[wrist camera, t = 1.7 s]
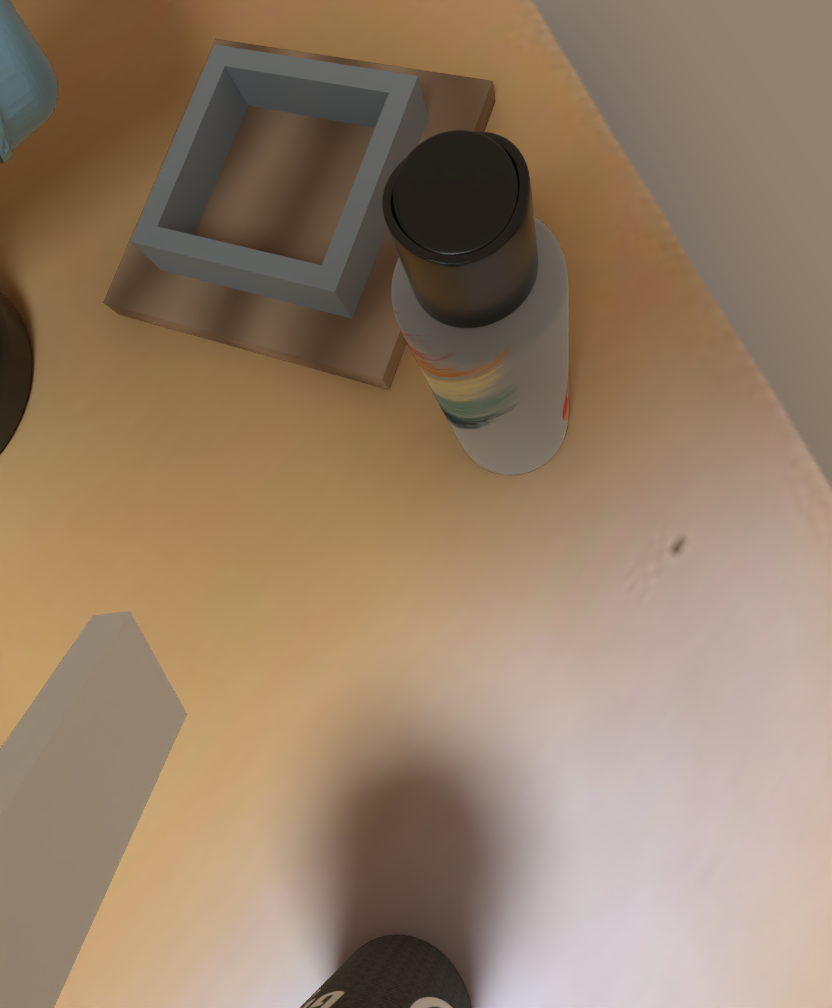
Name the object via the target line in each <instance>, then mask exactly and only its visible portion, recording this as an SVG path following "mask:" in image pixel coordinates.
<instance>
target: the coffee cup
mask: <svg viewBox="0 0 832 1008" xmlns="http://www.w3.org/2000/svg"><path fill="white" fill-rule="evenodd" d="M300 1008H471V1005H470V1000H469V996H468V993H467V990H466V987H465V985H464V983H463V981H462V979H461V977H460V975H459V973H458V972H457V970H456V969H455V967H454V966H453V964H452V963H451V962H450V961H449V960H448V959H447V958H446V957H445V956H444V955H443V954H442V953H441V952H440V951H439V950H438V949H436V948H435V947H433V946H432V945H430V944H428V943H427V942H425V941H422V940H420V939H417V938H414V937H410V936H405V935H389V936H384V937H380V938H377V939H374V940H372V941H370V942H368V943H367V944H365V945H364V946H362V947H361V948H360V949H358V950H357V951H356V952H355V953H354V954H353V955H352V956H351V957H350V958H349V959H348V960H347V961H346V962H345V963H344V964H343V965H342V966H341V967H340V968H339V969H338V970H337V971H336V972H335V973H334V974H333V975H332V976H331V977H330V978H329V979H328V980H327V981H326V982H325V983H324V984H323V985H322V986H321V987H320V988H319V989H318V990H317V991H316V992H315V993H314V994H313V995H312V996H311V997H310V998H309V999H308V1000H307V1001H306V1002H305V1003H304V1004H303V1005H302V1006H301V1007H300Z"/></svg>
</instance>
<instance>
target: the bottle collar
mask: <svg viewBox="0 0 832 1008" xmlns="http://www.w3.org/2000/svg"><path fill="white" fill-rule="evenodd" d="M248 105H249V106H254V107H260V108H266V109H271V110H277V111H282V112H288V113H294V114H299V115H305V116H311V117H316V118H322V119H327V120H333V121H339V122H344V123H350V124H356V125H361V126H367V127H373V128H375V130H374V132H373V135H372V138H371V140H370V143H369V145H368V148H367V150H366V153H365V156H364V158H363V161H362V163H361V166H360V168H359V171H358V174H357V176H356V179H355V181H354V184H353V186H352V189H351V192H350V194H349V197H348V199H347V202H346V205H345V207H344V210H343V212H342V215H341V217H340V220H339V223H338V225H337V228H336V230H335V233H334V235H333V238H332V241H331V243H330V246H329V248H328V251H327V253H326V256H325V259H324V261H323V264H322V265H318V264H314V263H310V262H305V261H301V260H297V259H293V258H288V257H284V256H280V255H276V254H272V253H267V252H263V251H259V250H255V249H250V248H246V247H242V246H238V245H234V244H229V243H225V242H221V241H217V240H212V239H208V238H204V237H200V236H196V235H195V232H196V230H197V227H198V225H199V223H200V220H201V218H202V215H203V213H204V211H205V208H206V206H207V203H208V201H209V198H210V196H211V194H212V191H213V189H214V186H215V184H216V182H217V179H218V177H219V174H220V172H221V169H222V167H223V165H224V162H225V160H226V157H227V155H228V153H229V150H230V148H231V145H232V143H233V141H234V138H235V136H236V133H237V131H238V128H239V126H240V124H241V121H242V119H243V116H244V114H245V112H246V109H247V107H248ZM428 118H429V116H428V112H427V109H426V105H425V101H424V97H423V93H422V90H421V86H420V82H419V78H418V76H415V75H408V74H402V73H395V72H389V71H382V70H376V69H369V68H363V67H357V66H350V65H344V64H337V63H331V62H324V61H318V60H311V59H305V58H298V57H292V56H285V55H279V54H272V53H266V52H259V51H253V50H246V49H240V48H233V47H227V46H220V45H214V47H213V49H212V51H211V54H210V56H209V58H208V61H207V63H206V65H205V68H204V70H203V72H202V75H201V77H200V79H199V82H198V84H197V87H196V89H195V91H194V94H193V96H192V98H191V101H190V103H189V105H188V108H187V110H186V112H185V115H184V117H183V119H182V122H181V124H180V126H179V129H178V131H177V134H176V136H175V138H174V141H173V143H172V145H171V148H170V150H169V152H168V155H167V157H166V159H165V162H164V164H163V166H162V169H161V171H160V173H159V176H158V178H157V181H156V183H155V185H154V188H153V190H152V192H151V195H150V197H149V199H148V202H147V204H146V206H145V209H144V211H143V213H142V216H141V218H140V221H139V223H138V225H137V228H136V230H135V232H134V235H133V237H132V239H131V243H132V244H133V245H134V246H136V247H137V248H138V249H139V250H140V251H141V252H142V253H143V254H144V255H145V256H146V257H147V258H148V259H150V260H151V261H152V262H153V263H154V264H155V265H156V266H157V267H158V268H159V269H160V270H163V271H167V272H171V273H175V274H179V275H183V276H186V277H190V278H194V279H198V280H202V281H206V282H210V283H214V284H218V285H222V286H226V287H230V288H233V289H237V290H241V291H245V292H249V293H253V294H257V295H261V296H265V297H269V298H273V299H277V300H280V301H284V302H288V303H292V304H296V305H300V306H304V307H308V308H312V309H316V310H320V311H324V312H328V313H331V314H335V315H339V316H343V317H347V318H351V319H353V316H354V313H355V311H356V308H357V305H358V303H359V300H360V297H361V295H362V292H363V290H364V287H365V284H366V282H367V279H368V276H369V274H370V271H371V268H372V266H373V263H374V261H375V258H376V255H377V253H378V250H379V247H380V245H381V242H382V239H383V237H384V234H385V232H386V229H387V225H386V222H385V218H384V214H383V208H382V199H383V192H384V188H385V185H386V183H387V181H388V179H389V177H390V175H391V174H392V172H393V171H394V169H395V168H396V167H397V166H398V165H399V164H400V163H401V162H402V161H403V160H404V159H405V158H406V157H407V156H408V155H409V153H410V152H411V151H412V150H413V149H414V148H415V147H416V146H418V144H419V142H420V139H421V137H422V134H423V131H424V129H425V126H426V123H427V121H428Z"/></svg>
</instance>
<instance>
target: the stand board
mask: <svg viewBox="0 0 832 1008" xmlns="http://www.w3.org/2000/svg"><path fill="white" fill-rule="evenodd" d="M214 45H220V46H227V47H233V48H240V49H246V50H253V51H259V52H266V53H272V54H279V55H285V56H292V57H298V58H305V59H311V60H318V61H324V62H331V63H337V64H344V65H350V66H357V67H363V68H369V69H376V70H382V71H389V72H395V73H402V74H408V75H415V76H418V78H419V82H420V86H421V90H422V93H423V97H424V101H425V105H426V109H427V112H428V116H429V118H428V121H427V123H426V126H425V129H424V131H423V134H422V137H421V139H420V142H419V144H420V143H421V142H423V141H424V140H426V139H428V138H430V137H432V136H434V135H436V134H439V133H442V132H446V131H452V130H467V131H482V132H484V130H485V127H486V125H487V122H488V119H489V117H490V114H491V111H492V108H493V106H494V103H495V96H494V88H493V81H489V80H482V79H476V78H469V77H462V76H456V75H449V74H443V73H436V72H430V71H423V70H416V69H410V68H403V67H397V66H390V65H383V64H377V63H370V62H364V61H357V60H351V59H344V58H337V57H331V56H324V55H318V54H311V53H305V52H298V51H291V50H285V49H278V48H272V47H265V46H258V45H252V44H245V43H239V42H232V41H226V40H219V39H215V42H214V44H213V46H212V49H213V47H214ZM212 49H211V51H212ZM211 51H210V53H209V56H210V54H211ZM209 56H208V58H209ZM208 58H207V60H206V63H207V61H208ZM206 63H205V65H206ZM205 65H204V67H203V70H204V68H205ZM203 70H202V72H203ZM202 72H201V74H200V77H201V75H202ZM200 77H199V79H200ZM199 79H198V81H197V84H198V82H199ZM197 84H196V86H195V89H196V87H197ZM195 89H194V91H195ZM194 91H193V93H192V96H193V94H194ZM192 96H191V98H192ZM191 98H190V100H189V103H190V101H191ZM189 103H188V105H189ZM188 105H187V107H186V110H187V108H188ZM186 110H185V112H186ZM185 112H184V114H183V117H184V115H185ZM183 117H182V119H183ZM182 119H181V121H180V124H181V122H182ZM180 124H179V126H180ZM179 126H178V128H177V131H178V129H179ZM374 130H375V128H373V127H367V126H361V125H356V124H350V123H344V122H339V121H333V120H327V119H322V118H316V117H311V116H305V115H299V114H294V113H288V112H282V111H277V110H271V109H266V108H260V107H254V106H249V105H248V107H247V109H246V112H245V114H244V116H243V119H242V121H241V124H240V126H239V128H238V131H237V133H236V136H235V138H234V141H233V143H232V145H231V148H230V150H229V153H228V155H227V157H226V160H225V162H224V165H223V167H222V169H221V172H220V174H219V177H218V179H217V182H216V184H215V186H214V189H213V191H212V194H211V196H210V198H209V201H208V203H207V206H206V208H205V211H204V213H203V215H202V218H201V220H200V223H199V225H198V227H197V230H196V232H195V235H196V236H200V237H204V238H208V239H212V240H217V241H221V242H225V243H229V244H234V245H238V246H242V247H246V248H250V249H255V250H259V251H263V252H267V253H272V254H276V255H280V256H284V257H288V258H293V259H297V260H301V261H305V262H310V263H314V264H318V265H322V264H323V261H324V259H325V256H326V253H327V251H328V248H329V246H330V243H331V241H332V238H333V235H334V233H335V230H336V228H337V225H338V223H339V220H340V217H341V215H342V212H343V210H344V207H345V205H346V202H347V199H348V197H349V194H350V192H351V189H352V186H353V184H354V181H355V179H356V176H357V174H358V171H359V168H360V166H361V163H362V161H363V158H364V156H365V153H366V150H367V148H368V145H369V143H370V140H371V138H372V135H373V132H374ZM177 131H176V133H175V136H176V134H177ZM175 136H174V138H175ZM174 138H173V140H172V143H173V141H174ZM172 143H171V145H172ZM419 144H418V145H419ZM171 145H170V147H169V150H170V148H171ZM169 150H168V152H169ZM168 152H167V154H166V157H167V155H168ZM166 157H165V159H166ZM165 159H164V161H163V164H164V162H165ZM163 164H162V166H163ZM162 166H161V168H160V171H161V169H162ZM160 171H159V173H160ZM159 173H158V175H157V178H158V176H159ZM157 178H156V180H155V182H154V185H155V183H156V181H157ZM154 185H153V187H152V190H153V188H154ZM152 190H151V192H152ZM151 192H150V194H149V197H150V195H151ZM149 197H148V199H149ZM148 199H147V201H146V204H147V202H148ZM146 204H145V206H146ZM145 206H144V208H143V211H144V209H145ZM143 211H142V213H143ZM142 213H141V215H140V218H141V216H142ZM140 218H139V220H138V222H137V225H138V223H139V221H140ZM137 225H136V227H135V229H134V232H135V230H136V228H137ZM134 232H133V234H132V237H133V235H134ZM132 237H131V239H132ZM131 239H130V241H129V244H128V246H127V248H126V251H125V253H124V255H123V258H122V260H121V262H120V265H119V267H118V269H117V272H116V274H115V276H114V279H113V281H112V284H111V286H110V288H109V291H108V293H107V295H106V298H105V300H104V302H103V303H104V304H106V305H107V306H108V307H110V308H111V309H113V310H114V311H115V312H117V313H118V314H120V315H124V316H127V317H131V318H134V319H138V320H142V321H145V322H149V323H152V324H156V325H159V326H163V327H167V328H170V329H174V330H177V331H181V332H184V333H188V334H192V335H195V336H199V337H202V338H206V339H210V340H213V341H217V342H220V343H224V344H227V345H231V346H235V347H238V348H242V349H245V350H249V351H252V352H256V353H260V354H263V355H267V356H270V357H274V358H278V359H281V360H285V361H288V362H292V363H295V364H299V365H303V366H306V367H310V368H313V369H317V370H321V371H324V372H328V373H331V374H335V375H338V376H342V377H346V378H349V379H353V380H356V381H360V382H363V383H367V384H371V385H374V386H378V387H381V388H385V389H389V388H390V386H391V383H392V380H393V378H394V375H395V372H396V369H397V367H398V364H399V361H400V358H401V356H402V353H403V350H404V348H405V345H406V340H405V338H404V336H403V334H402V332H401V329H400V327H399V325H398V322H397V320H396V317H395V314H394V310H393V304H392V293H391V291H392V279H393V274H394V270H395V267H396V264H397V261H398V259H399V255H398V252H397V250H396V247H395V245H394V242H393V240H392V237H391V235H390V232H389V230H388V227H387V229H386V232H385V234H384V237H383V239H382V242H381V245H380V247H379V250H378V253H377V255H376V258H375V261H374V263H373V266H372V268H371V271H370V274H369V276H368V279H367V282H366V284H365V287H364V290H363V292H362V295H361V297H360V300H359V303H358V305H357V308H356V311H355V313H354V316H353V319H351V318H347V317H343V316H339V315H335V314H331V313H328V312H324V311H320V310H316V309H312V308H308V307H304V306H300V305H296V304H292V303H288V302H284V301H280V300H277V299H273V298H269V297H265V296H261V295H257V294H253V293H249V292H245V291H241V290H237V289H233V288H230V287H226V286H222V285H218V284H214V283H210V282H206V281H202V280H198V279H194V278H190V277H186V276H183V275H179V274H175V273H171V272H167V271H163V270H160V269H159V268H158V267H157V266H156V265H155V264H154V263H153V262H152V261H151V260H150V259H148V258H147V257H146V256H145V255H144V254H143V253H142V252H141V251H140V250H139V249H138V248H137V247H136V246H134V245H133V244H132V243H131Z"/></svg>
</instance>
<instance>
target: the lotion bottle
mask: <svg viewBox="0 0 832 1008" xmlns="http://www.w3.org/2000/svg"><path fill="white" fill-rule="evenodd" d="M382 208H383V214H384V218H385V222H386V225H387V227H388V230H389V232H390V235H391V237H392V240H393V242H394V245H395V247H396V250H397V252H398V255H399V259H398V261H397V264H396V267H395V270H394V274H393V279H392V291H391V293H392V304H393V310H394V314H395V317H396V320H397V322H398V325H399V327H400V329H401V332H402V334H403V336H404V338H405V340H406V342H407V344H408V346H409V348H410V350H411V351H412V353H413V355H414V357H415V359H416V361H417V363H418V365H419V367H420V369H421V370H422V372H423V374H424V376H425V378H426V380H427V382H428V384H429V386H430V387H431V389H432V391H433V393H434V395H435V397H436V399H437V401H438V403H439V404H440V406H441V408H442V410H443V412H444V414H445V416H446V418H447V420H448V422H449V423H450V425H451V427H452V429H453V431H454V433H455V435H456V437H457V438H458V440H459V442H460V444H461V446H462V447H463V449H464V450H465V452H466V453H467V454H468V455H469V457H470V458H471V459H472V460H473V461H474V462H476V463H477V464H478V465H480V466H481V467H483V468H484V469H487V470H489V471H491V472H494V473H498V474H503V475H518V474H524V473H527V472H531V471H533V470H535V469H537V468H539V467H541V466H542V465H544V464H545V463H546V462H548V461H549V460H550V459H551V458H552V457H553V456H554V455H555V454H556V452H557V451H558V449H559V448H560V446H561V444H562V442H563V440H564V438H565V434H566V431H567V426H568V413H569V287H568V272H567V265H566V261H565V257H564V254H563V252H562V249H561V247H560V245H559V243H558V241H557V239H556V237H555V236H554V234H553V233H552V232H551V231H550V229H549V228H548V227H547V226H546V225H545V224H544V223H543V222H542V221H540V220H539V219H538V218H537V217H535V216H534V213H533V203H532V193H531V184H530V176H529V172H528V167H527V165H526V162H525V160H524V158H523V156H522V154H521V153H520V151H519V150H518V149H517V147H516V146H515V145H514V144H513V143H511V142H510V141H509V140H507V139H506V138H504V137H502V136H499V135H497V134H493V133H489V132H482V131H467V130H452V131H446V132H442V133H439V134H436V135H434V136H432V137H430V138H428V139H426V140H424V141H423V142H421V143H420V144H419V145H418V146H416V147H415V148H414V149H413V150H412V151H411V152H410V153H409V155H408V156H407V157H406V158H405V159H404V160H403V161H402V162H401V163H400V164H399V165H398V166H397V167H396V168H395V169H394V171H393V172H392V174H391V175H390V177H389V179H388V181H387V183H386V185H385V188H384V192H383V199H382Z"/></svg>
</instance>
